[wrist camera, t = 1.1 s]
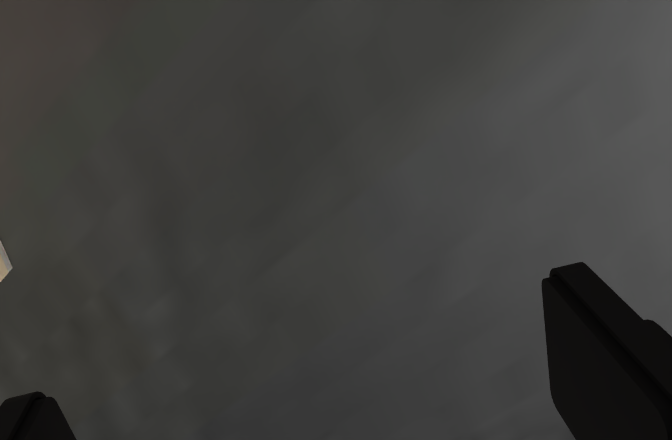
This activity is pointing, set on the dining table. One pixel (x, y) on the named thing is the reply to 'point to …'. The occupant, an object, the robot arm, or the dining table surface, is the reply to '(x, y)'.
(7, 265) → the corner arena
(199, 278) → the dining table surface
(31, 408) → the robot arm
